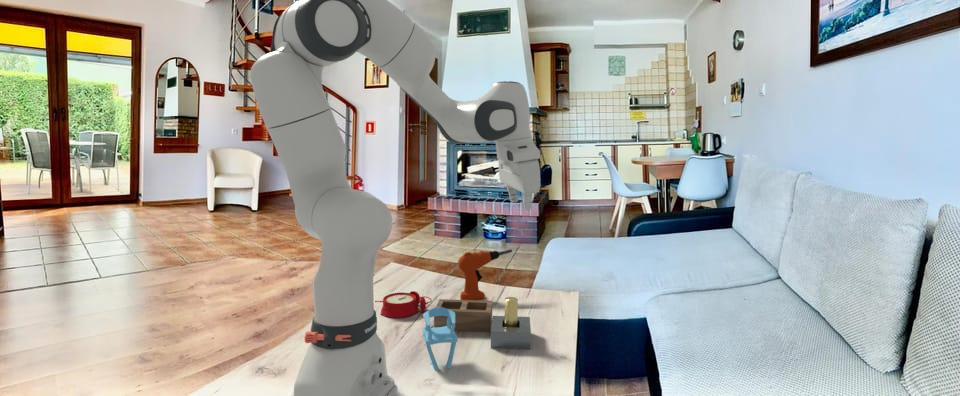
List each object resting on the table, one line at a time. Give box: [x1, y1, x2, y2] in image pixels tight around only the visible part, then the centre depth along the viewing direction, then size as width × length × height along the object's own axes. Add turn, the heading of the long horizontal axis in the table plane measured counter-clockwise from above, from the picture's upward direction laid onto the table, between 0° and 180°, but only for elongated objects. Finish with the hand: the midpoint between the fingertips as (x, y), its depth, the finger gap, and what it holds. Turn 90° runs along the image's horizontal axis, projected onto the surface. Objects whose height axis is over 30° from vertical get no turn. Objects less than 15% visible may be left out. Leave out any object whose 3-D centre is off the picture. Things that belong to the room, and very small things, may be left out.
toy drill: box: [457, 248, 513, 301], centre depth 137 cm, size 5×19×15 cm, turn 115°
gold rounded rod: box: [504, 296, 519, 328], centre depth 105 cm, size 3×3×10 cm
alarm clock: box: [374, 290, 433, 319], centre depth 127 cm, size 10×6×15 cm
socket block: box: [490, 315, 532, 351], centre depth 106 cm, size 9×9×5 cm
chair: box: [422, 306, 458, 371], centre depth 95 cm, size 8×8×12 cm
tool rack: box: [433, 298, 493, 333], centre depth 114 cm, size 8×14×6 cm, turn 85°
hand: (520, 205), depth 112 cm, fingers open, 8 cm apart
